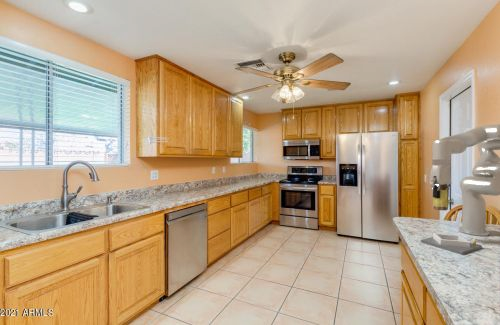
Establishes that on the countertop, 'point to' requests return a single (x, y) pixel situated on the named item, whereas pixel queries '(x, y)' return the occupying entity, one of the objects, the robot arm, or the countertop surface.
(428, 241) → the locating plate
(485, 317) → the countertop surface
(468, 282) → the countertop surface
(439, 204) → the sauce bottle
